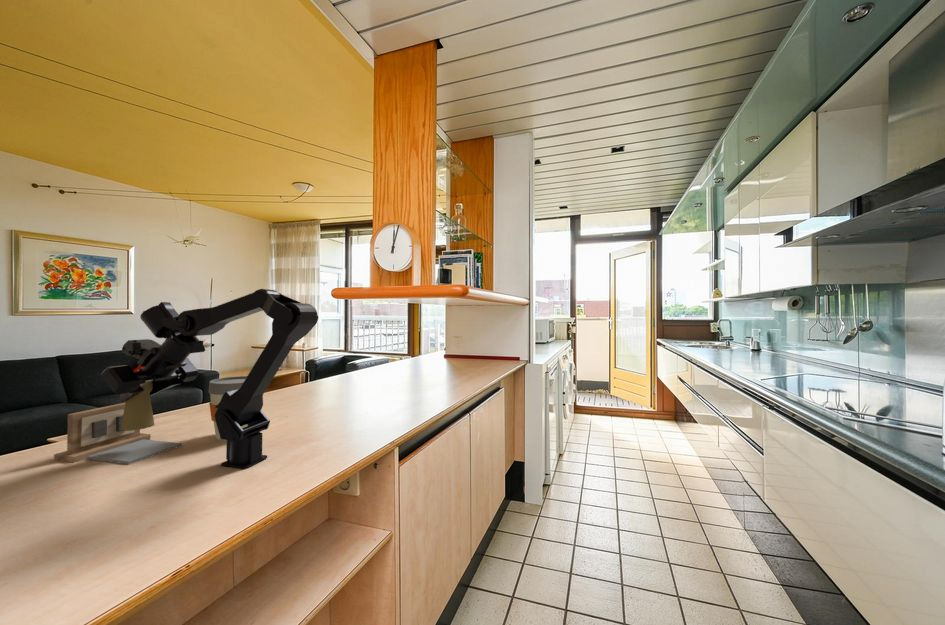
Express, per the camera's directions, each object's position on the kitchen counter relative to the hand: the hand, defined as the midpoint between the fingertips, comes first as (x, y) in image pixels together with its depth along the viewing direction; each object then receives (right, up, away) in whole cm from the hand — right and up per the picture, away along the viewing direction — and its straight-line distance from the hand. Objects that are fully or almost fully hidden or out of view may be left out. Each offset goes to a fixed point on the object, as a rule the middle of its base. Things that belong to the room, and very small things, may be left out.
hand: (133, 398), depth 90 cm
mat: (+1, -13, 0) cm, 13 cm away
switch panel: (-8, -12, +2) cm, 15 cm away
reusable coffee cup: (+16, -13, +13) cm, 24 cm away
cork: (+1, -7, 0) cm, 7 cm away
